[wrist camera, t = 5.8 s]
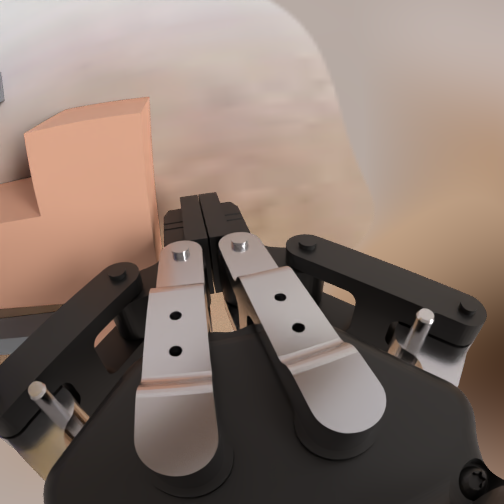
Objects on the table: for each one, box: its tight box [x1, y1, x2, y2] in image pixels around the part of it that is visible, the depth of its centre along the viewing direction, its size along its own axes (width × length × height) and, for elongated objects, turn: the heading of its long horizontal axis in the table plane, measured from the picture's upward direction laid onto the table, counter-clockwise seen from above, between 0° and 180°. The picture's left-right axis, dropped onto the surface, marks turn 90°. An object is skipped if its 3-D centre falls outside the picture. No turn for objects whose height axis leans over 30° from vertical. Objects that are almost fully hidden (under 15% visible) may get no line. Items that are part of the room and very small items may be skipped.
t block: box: [0, 97, 162, 347], centre depth 12 cm, size 10×10×5 cm
